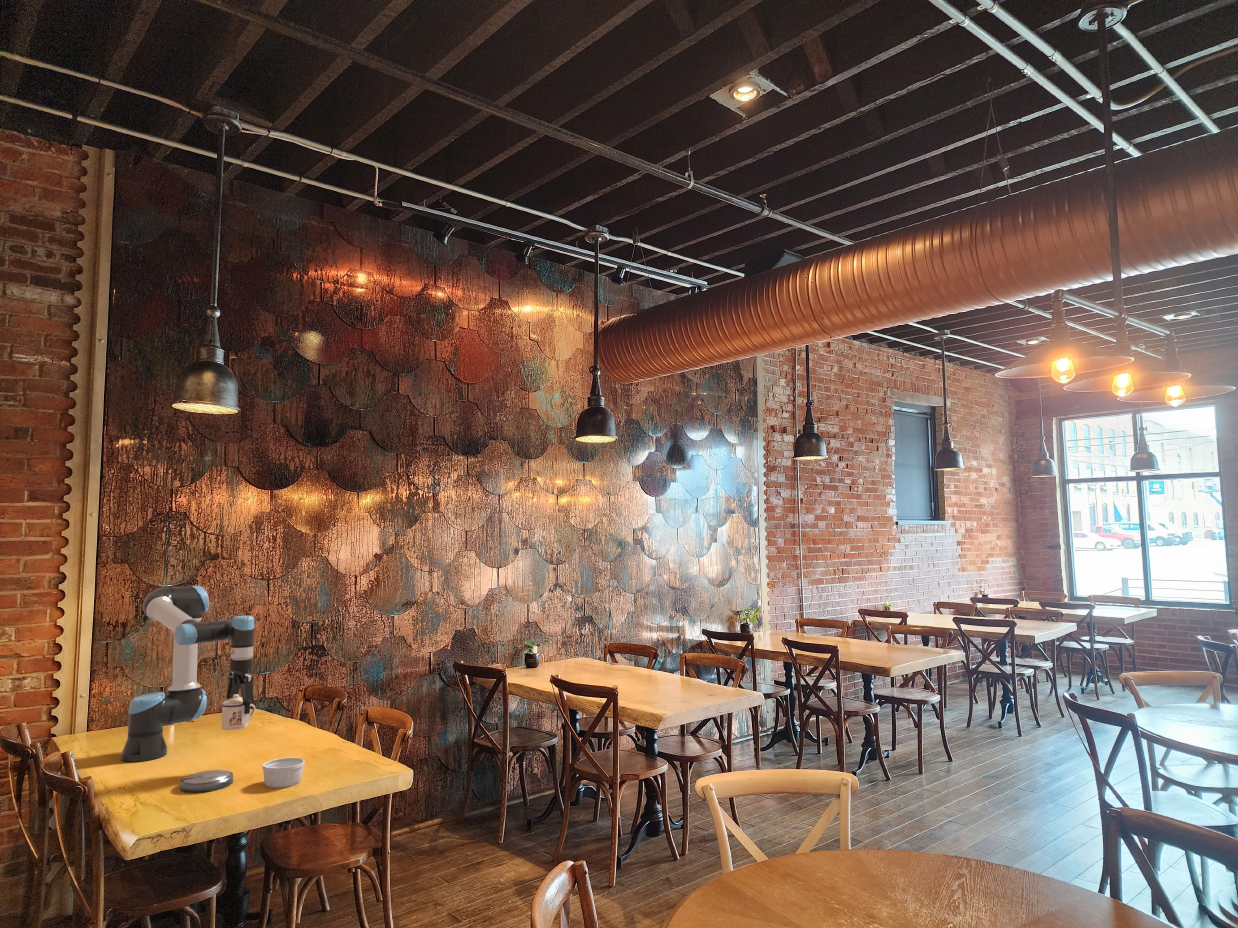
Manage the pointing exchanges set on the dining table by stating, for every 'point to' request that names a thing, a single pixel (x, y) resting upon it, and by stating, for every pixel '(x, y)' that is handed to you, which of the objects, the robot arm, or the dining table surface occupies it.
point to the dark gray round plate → (206, 781)
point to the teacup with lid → (233, 713)
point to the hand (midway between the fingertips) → (239, 720)
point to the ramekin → (283, 772)
